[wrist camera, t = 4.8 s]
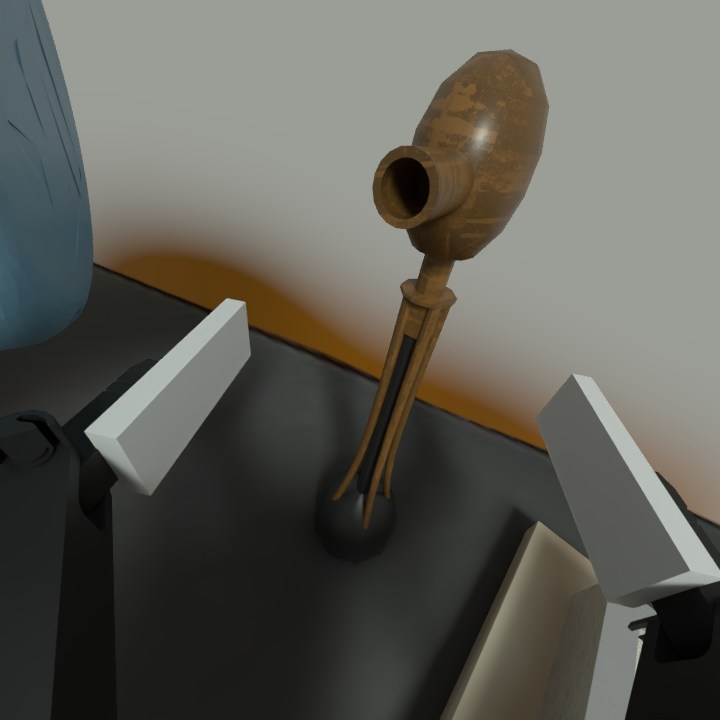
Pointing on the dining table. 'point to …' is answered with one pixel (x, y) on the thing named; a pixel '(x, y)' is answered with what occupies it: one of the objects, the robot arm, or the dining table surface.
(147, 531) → the dining table surface
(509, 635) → the stand
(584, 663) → the collar
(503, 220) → the wooden tabletop sculpture
